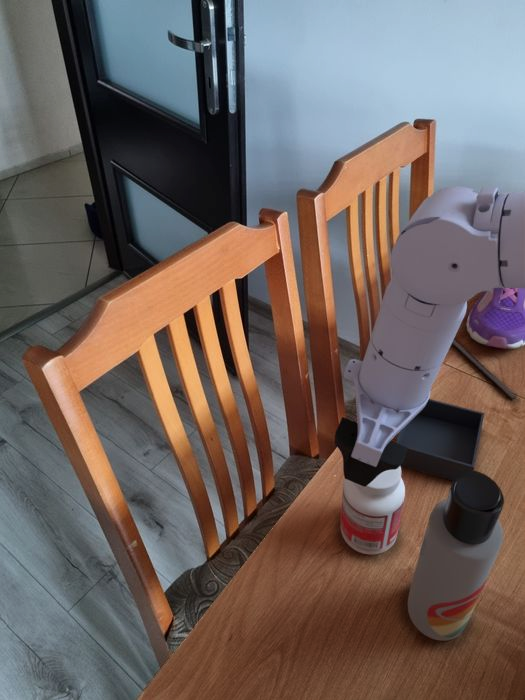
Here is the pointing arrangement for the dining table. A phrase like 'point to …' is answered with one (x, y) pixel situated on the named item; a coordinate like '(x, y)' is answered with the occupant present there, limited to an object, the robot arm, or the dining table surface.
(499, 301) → the running shoe
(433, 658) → the dining table surface
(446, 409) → the box
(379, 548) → the pill bottle
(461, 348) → the rod
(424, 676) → the dining table surface
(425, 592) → the black capped bottle
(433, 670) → the dining table surface
